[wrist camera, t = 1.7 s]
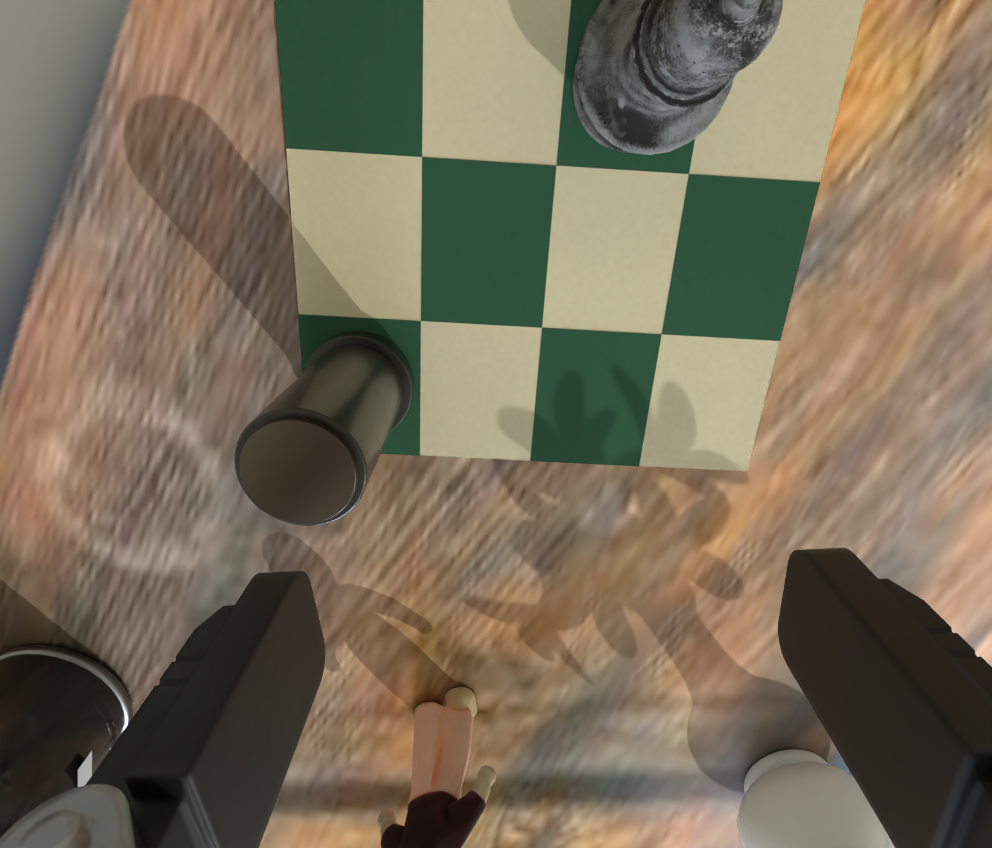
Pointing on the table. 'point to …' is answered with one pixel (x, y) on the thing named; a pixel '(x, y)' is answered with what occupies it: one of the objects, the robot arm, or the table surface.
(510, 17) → the chess mat
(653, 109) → the grey tall turned piece
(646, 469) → the table surface
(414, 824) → the grandmother figurine
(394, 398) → the dark grey cylinder
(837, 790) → the flower vase
